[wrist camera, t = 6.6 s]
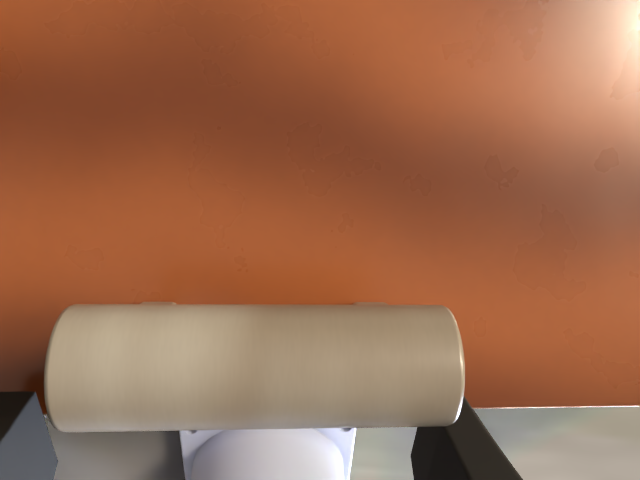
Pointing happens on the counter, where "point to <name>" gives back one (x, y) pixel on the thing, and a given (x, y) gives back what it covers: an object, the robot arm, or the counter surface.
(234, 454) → the robot arm
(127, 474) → the counter surface
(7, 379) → the lid
